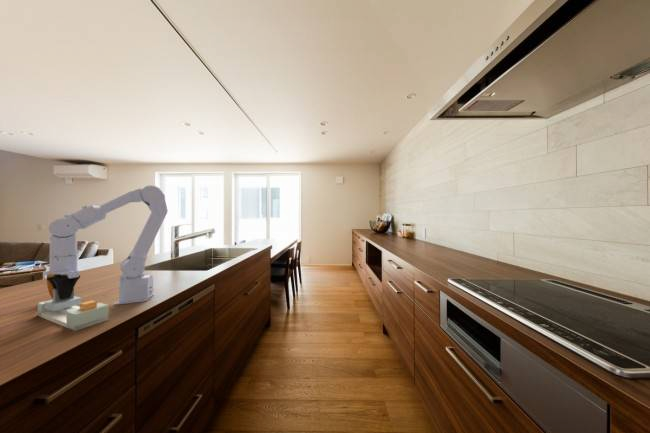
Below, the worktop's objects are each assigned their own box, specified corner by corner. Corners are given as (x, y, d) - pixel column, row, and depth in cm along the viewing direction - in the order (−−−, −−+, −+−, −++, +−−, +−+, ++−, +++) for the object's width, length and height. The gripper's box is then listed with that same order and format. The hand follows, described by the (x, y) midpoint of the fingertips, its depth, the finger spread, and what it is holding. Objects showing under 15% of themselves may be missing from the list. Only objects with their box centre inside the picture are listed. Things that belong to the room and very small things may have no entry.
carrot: (51, 304, 78) (52, 262, 78) (42, 303, 79) (42, 262, 79) (70, 299, 82) (70, 260, 83) (61, 298, 83) (61, 259, 84)
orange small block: (79, 317, 62) (79, 303, 62) (92, 313, 65) (92, 300, 65) (84, 318, 61) (84, 304, 61) (96, 314, 64) (96, 301, 64)
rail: (37, 315, 68) (37, 301, 68) (69, 307, 75) (70, 294, 75) (74, 330, 59) (75, 314, 59) (108, 319, 65) (108, 305, 65)
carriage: (44, 308, 68) (44, 289, 68) (72, 301, 73) (72, 283, 73) (53, 311, 65) (53, 291, 65) (81, 303, 71) (81, 285, 71)
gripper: (34, 256, 68) (34, 299, 68) (54, 259, 63) (54, 306, 63) (67, 253, 75) (67, 292, 75) (88, 255, 69) (88, 297, 69)
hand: (63, 297), depth 69 cm, fingers closed on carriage, 2 cm apart
